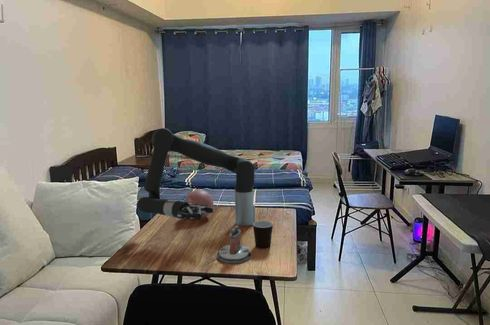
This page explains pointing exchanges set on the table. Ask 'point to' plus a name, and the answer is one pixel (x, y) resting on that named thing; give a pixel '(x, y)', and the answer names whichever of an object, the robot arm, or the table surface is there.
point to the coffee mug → (262, 234)
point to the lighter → (235, 240)
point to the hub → (233, 259)
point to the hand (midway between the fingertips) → (206, 213)
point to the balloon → (200, 200)
